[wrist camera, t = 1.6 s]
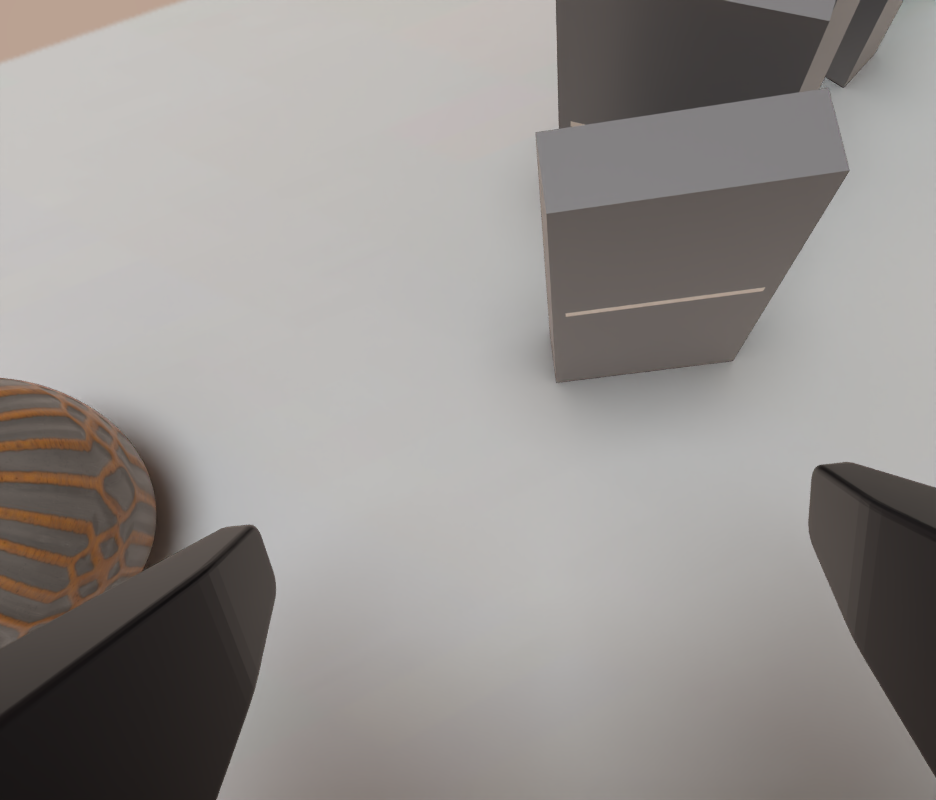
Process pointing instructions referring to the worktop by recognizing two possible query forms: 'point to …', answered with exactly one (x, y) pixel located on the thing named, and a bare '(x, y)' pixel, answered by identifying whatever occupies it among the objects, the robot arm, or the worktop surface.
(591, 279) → the domino
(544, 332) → the worktop surface
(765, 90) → the domino
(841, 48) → the domino
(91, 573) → the vase
